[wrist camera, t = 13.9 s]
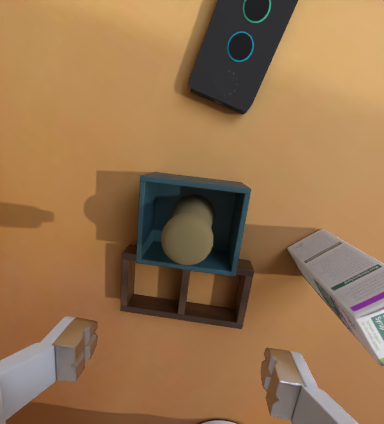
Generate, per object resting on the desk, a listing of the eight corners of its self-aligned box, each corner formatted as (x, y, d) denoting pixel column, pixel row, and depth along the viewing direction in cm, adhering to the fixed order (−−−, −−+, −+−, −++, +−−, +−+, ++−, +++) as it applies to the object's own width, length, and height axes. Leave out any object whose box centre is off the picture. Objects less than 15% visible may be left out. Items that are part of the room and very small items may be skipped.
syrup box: (284, 247, 30) (350, 322, 16) (323, 226, 29) (428, 287, 15) (303, 277, 31) (380, 371, 17) (341, 258, 30) (456, 342, 16)
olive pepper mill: (164, 214, 30) (139, 244, 19) (193, 185, 29) (185, 200, 18) (193, 243, 31) (185, 287, 20) (223, 215, 29) (232, 247, 19)
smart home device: (185, 85, 25) (264, -135, 20) (187, 90, 26) (259, -112, 21) (249, 113, 25) (343, -98, 20) (246, 116, 27) (332, -78, 22)
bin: (229, 253, 31) (235, 277, 25) (150, 242, 32) (135, 263, 26) (241, 182, 29) (251, 188, 22) (155, 172, 29) (140, 175, 23)
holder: (239, 314, 34) (242, 329, 31) (127, 298, 35) (120, 310, 32) (249, 260, 31) (254, 270, 28) (129, 244, 32) (122, 252, 29)
